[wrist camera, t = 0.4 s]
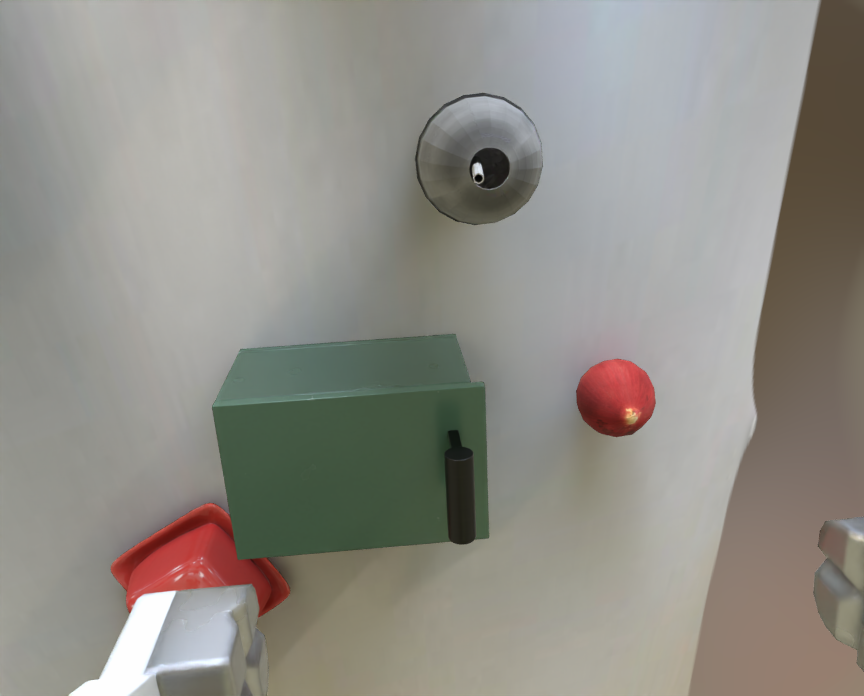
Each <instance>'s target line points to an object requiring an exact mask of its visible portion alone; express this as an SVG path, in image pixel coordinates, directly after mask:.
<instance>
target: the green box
mask: <svg viewBox="0 0 864 696" xmlns="http://www.w3.org/2000/svg"><path fill="white" fill-rule="evenodd" d="M458 383H471V381H470V378H469V375H468V372H467V368H466V365H465V362H464V359H463V356H462V353H461V350H460V347H459V344H458V341H457V338H456V335H455V334H447V335H433V336H418V337H404V338H390V339H376V340H362V341H348V342H334V343H320V344H306V345H292V346H278V347H264V348H250V349H240V351H239V353H238V355H237V357H236V359H235V362H234V364H233V366H232V368H231V370H230V372H229V374H228V376H227V378H226V380H225V382H224V384H223V386H222V388H221V390H220V392H219V394H218V396H217V398H216V400H215V402H218V401H231V400H245V399H258V398H272V397H285V396H298V395H312V394H325V393H338V392H352V391H365V390H378V389H392V388H405V387H418V386H432V385H445V384H458Z"/></svg>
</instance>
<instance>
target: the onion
mask: <svg viewBox="0 0 864 696" xmlns="http://www.w3.org/2000/svg"><path fill="white" fill-rule="evenodd" d="M576 395H577V406H578V409H579V411H580V413H581V415H582V418H583V420H584V421H585V422H586V423H587V424H588V425H589V426H591V427H592V428H593V429H594V430H596V431H597V432H599V433H601V434H605V435H609V436H614V437H620V436H626V435H631V434H633V433H635V432H636V431H637V430H639V429H640V428H641V427H642V426H643V425H644V424H645V423H646V422H647V421H648V420H649V419H650V418H651V416H652V413H653V410H654V407H655V404H656V402H655V392H654V387H653V385H652V383H651V381H650V379H649V377H648V375H647V373H646V372H645V371H644V370H642V369H641V368H639V367H638V366H636V365H635V364H634V363H632V362H631V361H626V360H621V359H614V360H607V361H603V362H601V363H599V364H597V365H595V366H593V367H591V368H590V369H589V370H588V371H587V372H586V373H585V374H584V375H583V376H582V377H581V379H580V382H579V385H578V388H577V390H576Z"/></svg>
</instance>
